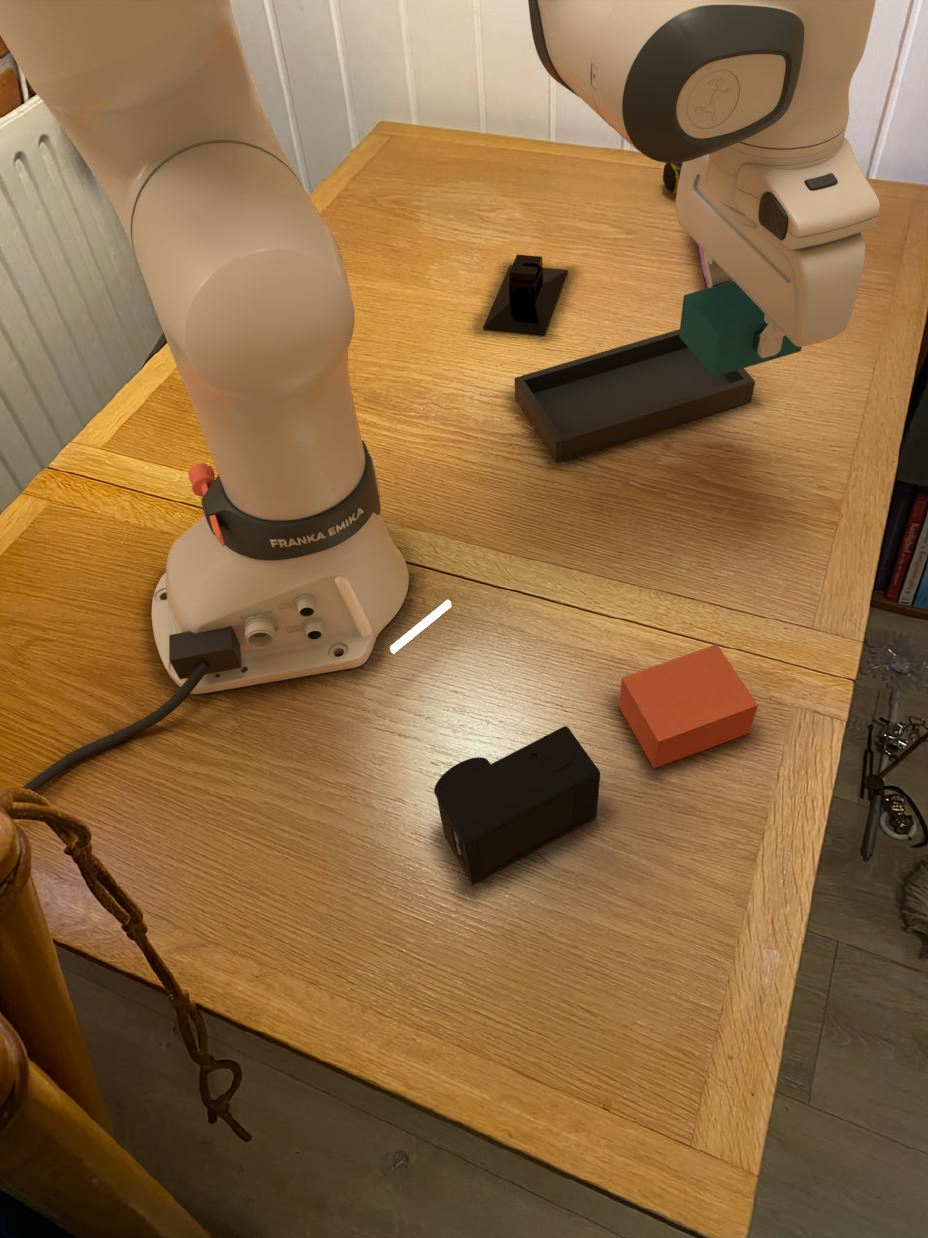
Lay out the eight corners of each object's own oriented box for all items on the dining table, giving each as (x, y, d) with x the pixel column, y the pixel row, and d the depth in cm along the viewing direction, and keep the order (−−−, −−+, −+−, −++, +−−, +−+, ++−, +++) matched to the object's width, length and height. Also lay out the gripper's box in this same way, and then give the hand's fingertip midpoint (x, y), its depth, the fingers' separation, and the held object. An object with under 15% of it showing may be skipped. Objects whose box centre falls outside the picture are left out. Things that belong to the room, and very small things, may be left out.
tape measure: (727, 196, 119) (731, 167, 116) (676, 209, 118) (679, 179, 115) (701, 171, 123) (705, 142, 120) (652, 183, 122) (655, 154, 119)
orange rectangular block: (653, 769, 71) (658, 741, 68) (618, 706, 75) (621, 677, 71) (749, 733, 72) (758, 705, 69) (710, 673, 76) (717, 643, 73)
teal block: (713, 377, 77) (719, 335, 74) (678, 336, 81) (683, 294, 78) (801, 351, 78) (811, 309, 75) (763, 311, 82) (771, 269, 79)
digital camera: (558, 759, 72) (558, 710, 67) (597, 817, 69) (601, 770, 64) (436, 823, 70) (426, 778, 64) (471, 886, 67) (464, 843, 61)
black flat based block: (544, 337, 104) (544, 300, 100) (480, 330, 106) (477, 294, 102) (568, 272, 111) (568, 235, 107) (507, 266, 113) (506, 230, 109)
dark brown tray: (555, 463, 92) (556, 442, 90) (514, 397, 98) (514, 377, 96) (751, 402, 95) (755, 380, 93) (699, 342, 101) (702, 321, 99)
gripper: (664, 108, 73) (650, 271, 84) (810, 241, 61) (771, 411, 72) (738, 90, 74) (715, 253, 85) (897, 217, 62) (845, 388, 73)
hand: (742, 326), depth 78 cm, fingers closed on teal block, 6 cm apart
